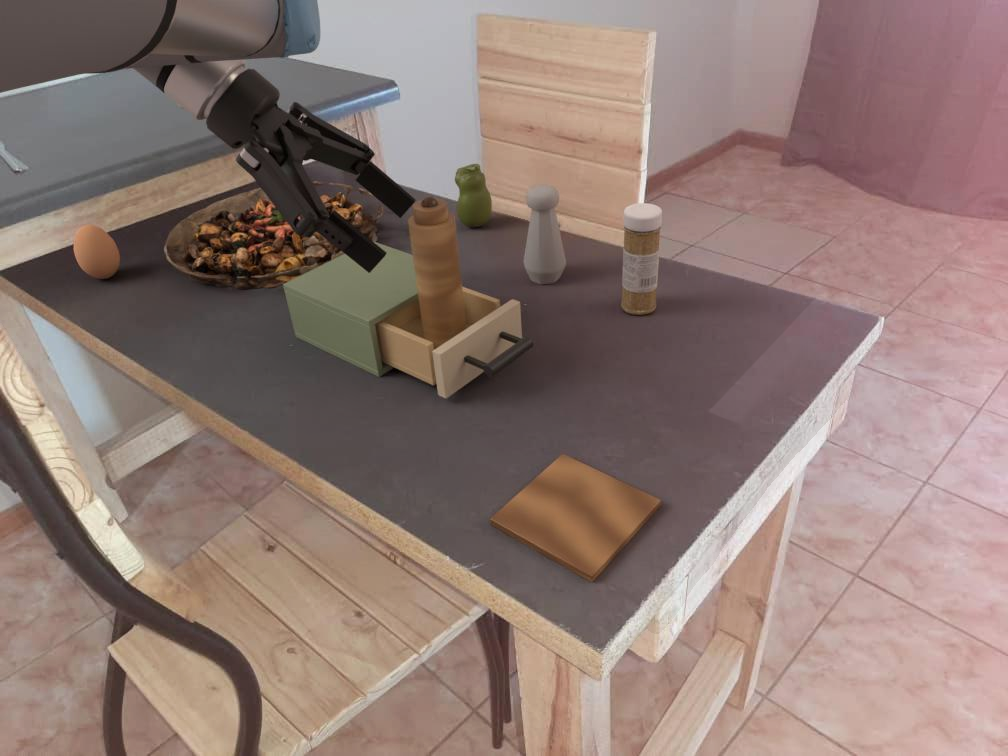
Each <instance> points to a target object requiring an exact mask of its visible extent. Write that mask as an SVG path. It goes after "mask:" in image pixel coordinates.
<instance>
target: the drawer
mask: <svg viewBox="0 0 1008 756" xmlns="http://www.w3.org/2000/svg"><path fill="white" fill-rule="evenodd" d="M462 290H463V300H464V310H465V320H466V329H465V330H464V331H462V332H461V333H459V334H458V335H456V336H455V337H453V338H452V339H450V340H449V341H447V342H445V343H444V344H442V345H441V346H439V347H438V348H436V349H435V350H434V346H433V342H430V341H428V340H426V339H424V334H423V327H422V320H421V312H420V305H419V299H418V300H416V301H414V302H412V303H411V304H409V305H407V306H406V307H404V308H402V309H400V310H399V311H397V312H395V313H394V314H392V315H390V316H388V317H387V318H385V319H383V320H382V321H380V322H378V323H376V324H375V327H376V333H377V338H378V344H379V350H380V355H381V361H382V362H384V363H386V364H388V365H390V366H392V367H394V368H393V369H397V370H399V371H401V372H402V373H405V374H407V375H410V376H412V377H414V378H416V379H418V380H420V381H422V382H424V383H426V384H429V385H431V386H435V385H436V389H437V395H438V396H439V397H441V398H443V399H445V400H446V399H448V398H449V397H451V396H452V395H454V394H455V393H456V392H458V390H460V389H462V388H463V387H465V386H467V384H469V383H470V382H472V381H473V380H475V379H476V378H477V377H478V376H480V375H481V374H483V373H484V374H485V375H486V376H487V377H488V378H491V377H493V376H495V375H496V374H497V373H499V372H500V371H502V370H503V369H504V368H506V367H508V366H509V365H510V364H511V363H513V362H515V360H517V359H519V357H521V356H522V355H524V354H525V353H526V352H528V351H529V350H530V349H532V348H533V347H534V341H533V339H532V338H531V337H529V336H524V337H523V332H522V331H523V329H522V311H521V302H520V301H519V300H517V299H513V298H512V299H509V301H507V302H505V303H504V304H502V305H501V299H498V298H496V297H492V296H490V295H487V294H484V293H481V292H479V291H477V290H473V289H470V288H468V287H465V286H462Z"/></svg>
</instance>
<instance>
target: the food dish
mask: <svg viewBox="0 0 1008 756" xmlns="http://www.w3.org/2000/svg"><path fill="white" fill-rule="evenodd" d="M311 182H312V184H313V185H314V187H315V188H316V187H318V186H321V185H324V182H319V181H318V180H316V181H311ZM328 185H331V186H332V185H333V186H337V187H341V188H343V189H344V193H345V194H344V193H343V192H341V191H340V192H337V193H336V196H335V195H334V196H331V195H330V194H322V195H319V196H320V198H321V200H322V202H323V204H324V205H325V207H326V209H327V211H328V213H329V216H330V214H331V213H332V212H333V211H334V210H335V211H336V212H337V213H339V214H340V215H341V216H342V217H344V218H345V219H346V220H347V221H348V222H350V223H351V224H352V225H353V226H355V227H356V228H357V229H358V230H359V231H361V232H362V233H363V234H364V235H366V236H367V237H368V238H369V239H371V240H372V241H374V242H376V243H377V241H378V236H377V235H376V234H377V233H376V232H377V231H378V229H377V222H378V220H379V219H381V217H382V216H383V212H384V207H383V205H379V206H378V210H377V213H376V218H374V217H373V216H372V214H364V207H363V206H362V205H361V204H359V203H354V202H352V201H351V200H350V198H349V194H350V192H352V191H353V190H356V191H358V192H359V193H360V195H364V196H366V197H374V196H373V195H372V194H371V193H370V192H369V191H367V190H366V189H365V188H360V187H358V188H354V187H353V186H352V185H348V184H344V183H339V182H338V183H337V182H329V183H328ZM329 216H328V217H329ZM298 219H299V220H300V219H301V218H300V216H299V217H298ZM163 252H164V254H165V258H166V260H167V261H168V263H170V265H171V266H173V267H174V269H177V270H178V271H179V272H181V273H182V274H185V276H188V279H189V281H191V282H195V283H200V284H202V285H215V286H216V287H233V288H236V289H237V290H238V289H239V290H249V289H262V288H266V289H271V288H277V287H278V286H283V284H285V283H287V282H289V281H291V280H293V279H295V278H297V277H299V276H301V275H303V274H305V273H307V272H309V271H311V270H313V269H315V268H317V267H319V266H321V265H323V264H325V263H327V262H329V261H331V260H333V259H335V258H337V257H339V256H342V255H344V254H345V253H343V252H342V251H341V250H339V249H338V248H337V247H335V246H334V245H333V244H331V242H329V241H328V240H326V239H325V238H324V237H323V236H321V235H320V234H319V233H317V232H315V233H314V234H313V236H312V237H311V238H307V237H305V236H299V235H297V234H296V233H295V232H294V231H293V229H292V228H291V227H290V225H289V224H288V223H287V221H286V220H285V219H284V217H283V216H282V215H281V214H280V212H279V211H278V210H277V208H276V207H275V206H274V204H273V203H272V202H271V200H270V199H269V198H268V196H267V195H266V194H265V192H264V191H263V190H262V188H261V187H259V188H254V189H252V190H249V191H244V192H241V193H238V194H235V195H233V196H229V197H226V198H225V199H222V200H221V199H220V200H218V201H216V202H215V201H214V202H212V203H211V204H209V205H208V206H206V207H205V208H201V209H198V210H196V211H195V212H193V213H192V214H190V215H189V216H188V217H186V218H184V219H183V220H181V221H180V222H178V223H177V224H176V225H175V226H174V227H173V228H172V230H170V231H169V232H168V236H167V238H166V240H165V244H164V246H163Z"/></svg>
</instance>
